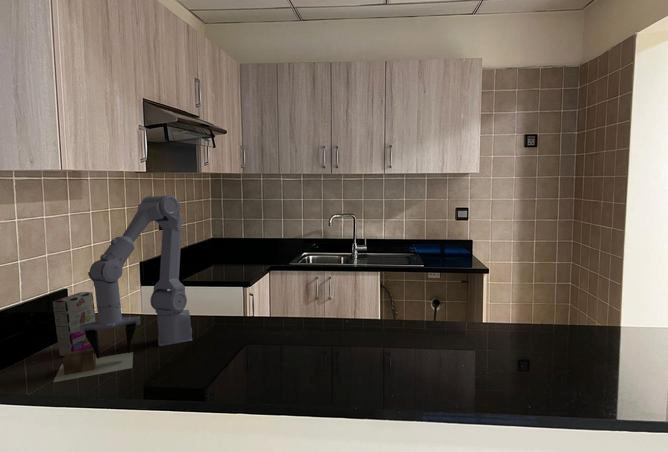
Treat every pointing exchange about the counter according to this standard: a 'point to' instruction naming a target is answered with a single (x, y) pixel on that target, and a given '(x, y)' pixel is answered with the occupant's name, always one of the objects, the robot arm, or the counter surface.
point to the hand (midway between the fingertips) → (113, 354)
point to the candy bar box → (73, 321)
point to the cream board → (101, 366)
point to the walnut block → (79, 361)
